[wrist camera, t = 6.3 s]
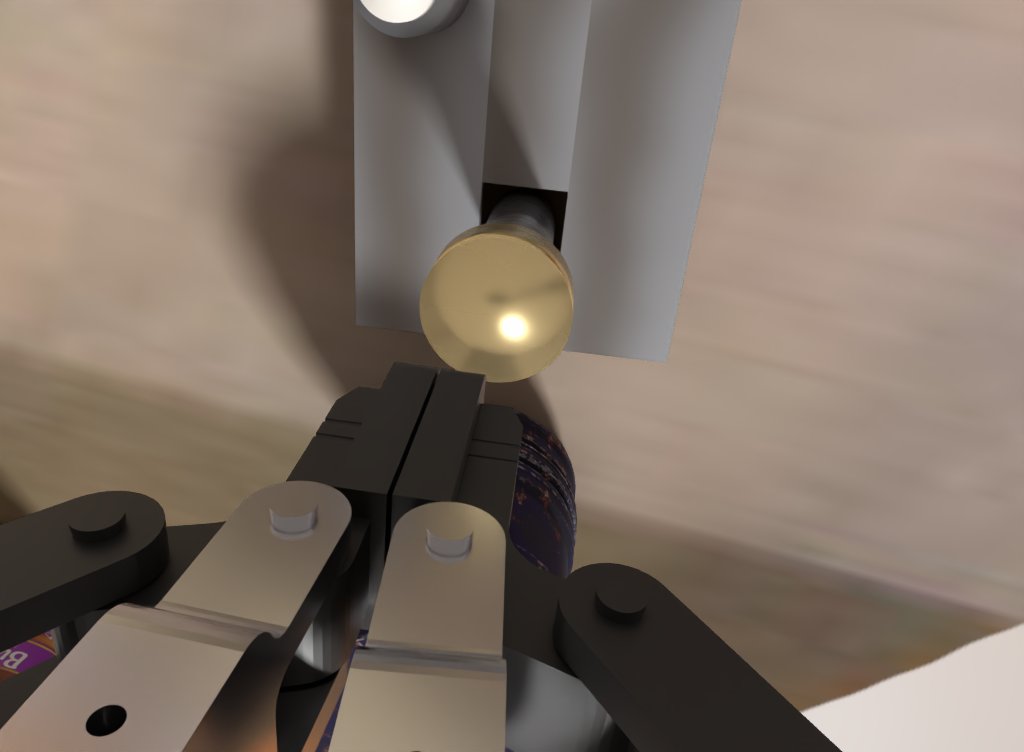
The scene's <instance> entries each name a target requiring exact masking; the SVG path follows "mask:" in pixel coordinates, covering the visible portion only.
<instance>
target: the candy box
mask: <svg viewBox="0 0 1024 752" xmlns="http://www.w3.org/2000/svg"><path fill="white" fill-rule="evenodd" d="M54 656H56V651H55V647H54V643H53V639H52V635H51V631H48V632H45V633H43V634H41V635H39V636H37V637H34V638H32V639H30V640H28V641H26V642H23V643H21V644H19V645H17V646H15V647H12V648H10V649H8V650H6V651H4V652H1V653H0V682H1V681H3V680H6V679H8V678H10V677H12V676H14V675H16V674H18V673H20V672H22V671H24V670H26V669H29V668H31V667H33V666H35V665H37V664H39V663H41V662H43V661H45V660H47V659H49V658H52V657H54Z"/></svg>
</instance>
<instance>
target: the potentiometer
mask: <svg viewBox="0 0 1024 752" xmlns="http://www.w3.org/2000/svg"><path fill="white" fill-rule="evenodd" d="M468 1H469V0H353V2H354V4H355V6H356V8H357V9H358V11H359V12H360V14H361V15H362V16H363V18H364V19H365V20H366V21H367V22H368V23H369V24H370V25H372V26H373V27H374V28H376V29H377V30H379V31H381V32H383V33H385V34H387V35H390V36H393V37H399V38H409V37H416V36H421V35H426V34H430V33H435V32H439V31H442V30H444V29H446V28H448V27H449V26H451V25H452V24H453V23H455V22H456V21H457V20H458V19H459V17H460V16H461V15H462V13H463V12H464V10H465V8H466V6H467V4H468Z"/></svg>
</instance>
